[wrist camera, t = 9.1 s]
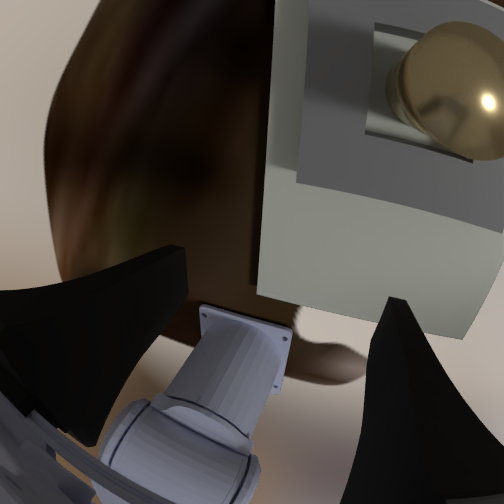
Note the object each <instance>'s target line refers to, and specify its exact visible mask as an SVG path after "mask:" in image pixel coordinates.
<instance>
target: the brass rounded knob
mask: <svg viewBox="0 0 504 504" xmlns="http://www.w3.org/2000/svg"><path fill="white" fill-rule="evenodd" d="M385 93H386V98H387V101H388V104H389V106H390V108H391V109H392V111H393V112H394V114H395V115H396V116H397V117H398V118H399V119H400V120H401V121H402V122H404V123H405V124H407V125H408V126H410V127H412V128H414V129H416V130H418V131H419V132H421V133H423V134H425V135H427V136H428V137H430V138H432V139H434V140H435V141H437V142H439V143H440V144H442V145H444V146H445V147H447V148H449V149H450V150H452V151H453V152H455V153H457V154H459V155H461V156H463V157H466V158H469V159H473V160H479V161H491V160H496V159H499V158H502V157H504V42H503V41H502V40H501V39H500V38H499V37H497V36H496V35H495V34H493V33H492V32H490V31H488V30H487V29H485V28H483V27H481V26H478V25H475V24H472V23H468V22H459V21H453V22H446V23H443V24H440V25H438V26H436V27H434V28H432V29H431V30H429V31H428V32H427V33H426V34H425V35H424V36H423V37H422V38H421V39H420V40H419V41H418V42H416V43H415V44H414V45H413V46H412V47H411V48H410V49H409V50H408V51H407V52H406V53H405V54H404V55H403V56H402V57H401V58H400V59H399V60H398V61H397V62H396V63H395V64H394V65H393V67H392V68H391V69H390V71H389V72H388V75H387V78H386V82H385Z"/></svg>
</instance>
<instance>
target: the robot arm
mask: <svg viewBox="0 0 504 504" xmlns="http://www.w3.org/2000/svg"><path fill="white" fill-rule="evenodd" d="M188 293H189V292H188V280H187V268H186V254H185V248H183V247H179V246H175V245H168V246H164V247H161V248H158V249H156V250H153V251H150V252H148V253H145V254H143V255H140V256H138V257H135V258H133V259H130V260H128V261H125V262H123V263H120V264H118V265H115V266H112V267H110V268H107V269H104V270H102V271H99V272H96V273H93V274H90V275H87V276H84V277H81V278H77V279H73V280H70V281H66V282H61V283H57V284H52V285H48V286H42V287H37V288H29V289H20V290H1V291H0V504H95V503H93V502H92V501H91V500H92V498H93V497H94V496H95V494H97V496H98V497H99V499H100V501H101V503H102V504H249V503H250V501H251V499H252V497H253V495H254V493H255V491H256V488H257V486H258V483H259V480H260V475H261V467H260V464H259V460H258V457H257V456H256V455H253V454H251V451H252V449H253V446H254V444H255V442H254V441H252V440H250V438H251V436H252V434H253V432H254V429H255V427H256V425H257V422H258V420H259V417H260V415H261V413H262V410H263V408H264V406H265V403H266V401H267V398H268V396H269V393H270V394H274V395H278V394H279V393H280V390H281V386H282V381H283V377H284V372H285V368H286V363H287V358H288V353H289V349H290V344H291V339H292V334H293V332H292V330H291V329H290V328H288V327H284V326H280V325H276V324H273V323H269V322H265V321H262V320H258V319H254V318H251V317H247V316H244V315H240V314H237V313H233V312H230V311H226V310H223V309H220V308H216V307H213V306H210V305H206V304H202V305H201V306H200V308H199V314H200V326H201V336H202V338H201V339H200V341H199V342H198V344H197V345H196V347H195V348H194V350H193V351H192V353H191V354H190V356H189V357H188V358H187V360H186V361H185V363H184V364H183V366H182V367H181V369H180V370H179V372H178V373H177V375H176V376H175V378H174V379H173V381H172V382H171V384H170V385H169V386H168V388H167V389H166V391H165V392H164V394H161V393H158V394H157V395H156V396H155V398H154V399H153V401H152V402H151V401H149V400H147V399H145V398H143V399H140V400H136V401H132V402H131V403H129V404H128V405H127V406H126V407H125V408H124V409H123V410H122V411H121V413H119V415H118V416H117V417H116V419H115V420H114V421H113V423H112V424H111V426H110V427H109V429H108V431H107V433H106V434H105V436H104V438H103V440H102V443H101V445H100V449H99V456H98V458H97V459H96V458H95V457H93V456H92V455H90V454H89V453H87V452H86V451H85V450H83V449H82V448H81V447H79V446H78V445H76V444H75V443H74V442H73V441H71V440H70V439H68V438H67V437H66V436H65V435H63V434H62V433H61V432H60V431H58V430H57V428H59V429H61V430H62V431H63V432H64V433H68V434H69V435H71V436H72V437H73V438H75V439H76V440H77V441H79V442H80V443H81V444H83V445H84V446H86V447H93V446H96V444H97V441H98V438H99V436H100V433H101V431H102V428H103V426H104V424H105V421H106V419H107V417H108V415H109V413H110V411H111V408H112V407H113V404H114V402H115V400H116V398H117V397H118V395H119V393H120V391H121V389H122V388H123V386H124V383H125V382H126V380H127V379H128V377H129V376H130V374H131V372H132V371H133V369H134V367H135V366H136V364H137V363H138V361H139V360H140V358H141V357H142V356H143V354H144V353H145V352H146V351H147V349H148V348H149V347H150V346H151V344H152V343H153V342H154V341H155V340H156V338H157V337H158V336H159V335H160V333H161V332H162V331H163V330H164V328H165V327H166V326H167V325H168V323H169V322H170V321H171V320H172V318H173V317H174V316H175V315H176V313H177V312H178V310H179V308H180V307H181V305H182V303H183V302H184V300H185V298H186V296H187V295H188ZM204 313H205V314H204ZM285 337H287V338H285ZM55 452H57V453H58V454H59V455H60V456H62V457H63V458H64V459H65V460H67V461H68V462H69V463H70V464H72V465H73V466H74V467H75V468H77V469H78V470H79V471H81V472H82V473H84V474H85V475H86V476H88V477H89V478H91V479H90V480H91V484H92V486H93V488H94V489H93V488H91V487H90V486H88V485H87V484H86V483H84V482H83V481H81V480H80V479H79V478H77V477H76V476H75V475H74V474H72V473H71V472H70V471H68V470H67V469H66V468H64V467H63V466H62V465H61V464H59V463H58V462H57V460H56V453H55ZM340 504H504V446H503V445H502V444H501V443H500V442H499V441H498V440H497V439H496V438H495V437H494V436H493V434H491V432H490V431H489V430H488V429H487V428H486V427H485V425H484V424H483V423H482V422H481V421H480V420H479V418H478V417H477V416H476V414H475V413H474V412H473V411H472V409H471V408H470V407H469V406H468V404H467V403H466V402H465V400H464V399H463V398H462V396H461V395H460V393H459V392H458V390H457V389H456V387H455V386H454V384H453V383H452V381H451V380H450V378H449V377H448V375H447V374H446V372H445V370H444V369H443V367H442V365H441V364H440V362H439V360H438V359H437V357H436V355H435V353H434V352H433V350H432V348H431V346H430V344H429V343H428V341H427V339H426V337H425V335H424V333H423V331H422V329H421V327H420V325H419V323H418V322H417V320H416V318H415V316H414V314H413V312H412V310H411V308H410V306H409V304H408V303H407V301H406V300H404V299H399V298H395V297H391V296H389V297H388V300H387V303H386V305H385V308H384V310H383V313H382V315H381V318H380V320H379V322H378V325H377V327H376V330H375V332H374V334H373V337H372V339H371V343H370V348H369V354H368V361H367V367H366V384H365V397H364V411H363V420H362V427H361V434H360V438H359V443H358V447H357V451H356V455H355V458H354V462H353V466H352V469H351V472H350V476H349V479H348V482H347V485H346V488H345V491H344V493H343V496H342V499H341V502H340Z"/></svg>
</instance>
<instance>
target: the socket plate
mask: <svg viewBox="0 0 504 504" xmlns="http://www.w3.org/2000/svg"><path fill="white" fill-rule="evenodd" d="M453 21H459V22H468V23H472V24H475V25H478V26H481V27H483V28H485V29H487V30H488V31H490V32H492V33H493V34H495V35H496V36H497V37H499V38H500V39H501V40H502V41H503V42H504V8H502V7H500V6H498V5H496V4H494V3H492V2H490V1H487V0H275V18H274V36H273V54H272V71H271V88H270V105H269V121H268V137H267V153H266V168H265V183H264V198H263V213H262V227H261V242H260V256H259V270H258V284H257V294H259V295H262V296H266V297H270V298H274V299H278V300H282V301H286V302H290V303H294V304H298V305H302V306H306V307H311V308H315V309H319V310H323V311H327V312H332V313H336V314H340V315H345V316H350V317H354V318H358V319H362V320H367V321H372V322H376V323H378V322H379V320H380V318H381V315H382V313H383V310H384V308H385V305H386V303H387V300H388V297H389V296H391V297H395V298H399V299H404V300H406V301H407V303H408V304H409V306H410V308H411V310H412V312H413V314H414V316H415V318H416V320H417V322H418V323H419V325H420V327H421V329H422V331H423V332H424V333H430V334H435V335H439V336H445V337H450V338H455V339H461V340H462V339H463V338H464V336H465V334H466V332H467V331H468V329H469V328H470V326H471V324H472V323H473V321H474V319H475V317H476V315H477V314H478V312H479V310H480V308H481V306H482V304H483V303H484V301H485V299H486V297H487V295H488V293H489V291H490V288H491V287H492V284H493V283H494V280H495V278H496V276H497V274H498V272H499V270H500V267H501V265H502V263H503V261H504V157H502V158H499V159H496V160H491V161H479V160H473V159H469V158H466V157H463V156H461V155H459V154H457V153H455V152H453V151H452V150H450V149H449V148H447V147H445V146H444V145H442V144H440V143H439V142H437V141H435V140H434V139H432V138H430V137H428V136H427V135H425V134H423V133H421V132H419V131H418V130H416V129H414V128H412V127H410V126H408V125H407V124H405V123H404V122H402V121H401V120H400V119H399V118H398V117H397V116H396V115H395V114H394V112H393V111H392V109H391V108H390V106H389V104H388V101H387V98H386V93H385V82H386V78H387V75H388V72H389V71H390V69H391V68H392V67H393V65H394V64H395V63H396V62H397V61H398V60H399V59H400V58H401V57H402V56H403V55H404V54H405V53H406V52H407V51H408V50H409V49H410V48H411V47H412V46H413V45H414V44H415V43H416V42H418V41H419V40H420V39H421V38H422V37H423V36H424V35H425V34H426V33H427V32H428V31H429V30H431V29H432V28H434V27H436V26H438V25H440V24H443V23H446V22H453Z"/></svg>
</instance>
